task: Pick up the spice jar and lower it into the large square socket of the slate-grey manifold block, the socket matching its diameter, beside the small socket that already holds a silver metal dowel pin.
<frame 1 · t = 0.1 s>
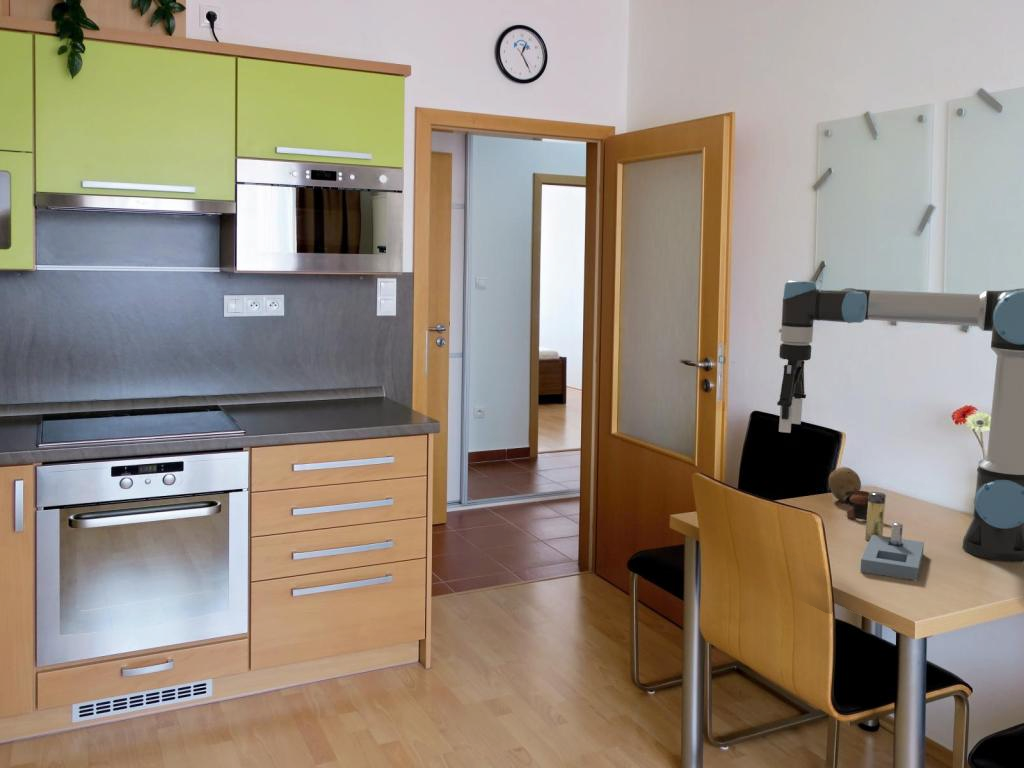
hand: (790, 427, 249), 28 cm above the table, tool pointing down, fingers open, 13 cm apart
manifold block: (892, 562, 234), on the table
spice jar: (873, 540, 251), on the table
silver metal dowel pin: (894, 556, 238), resting in manifold block
natural sponge: (843, 501, 289), on the table
pottery mug: (862, 517, 273), on the table
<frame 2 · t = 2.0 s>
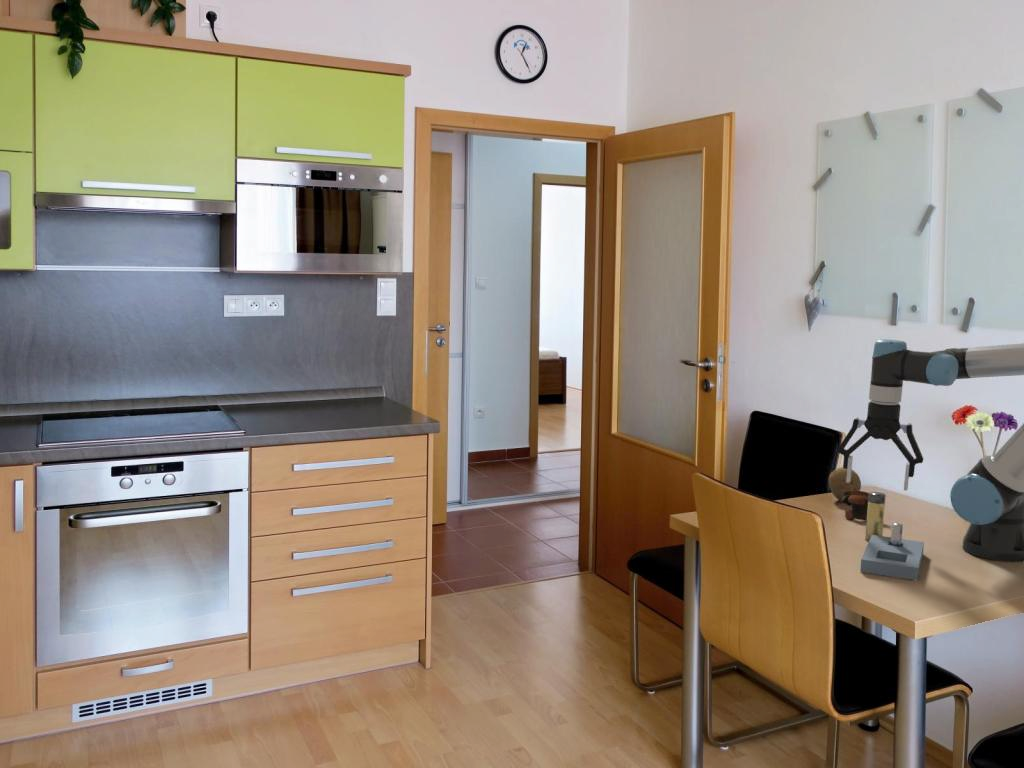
hand: (876, 485, 249), 14 cm above the table, tool pointing down, fingers open, 13 cm apart
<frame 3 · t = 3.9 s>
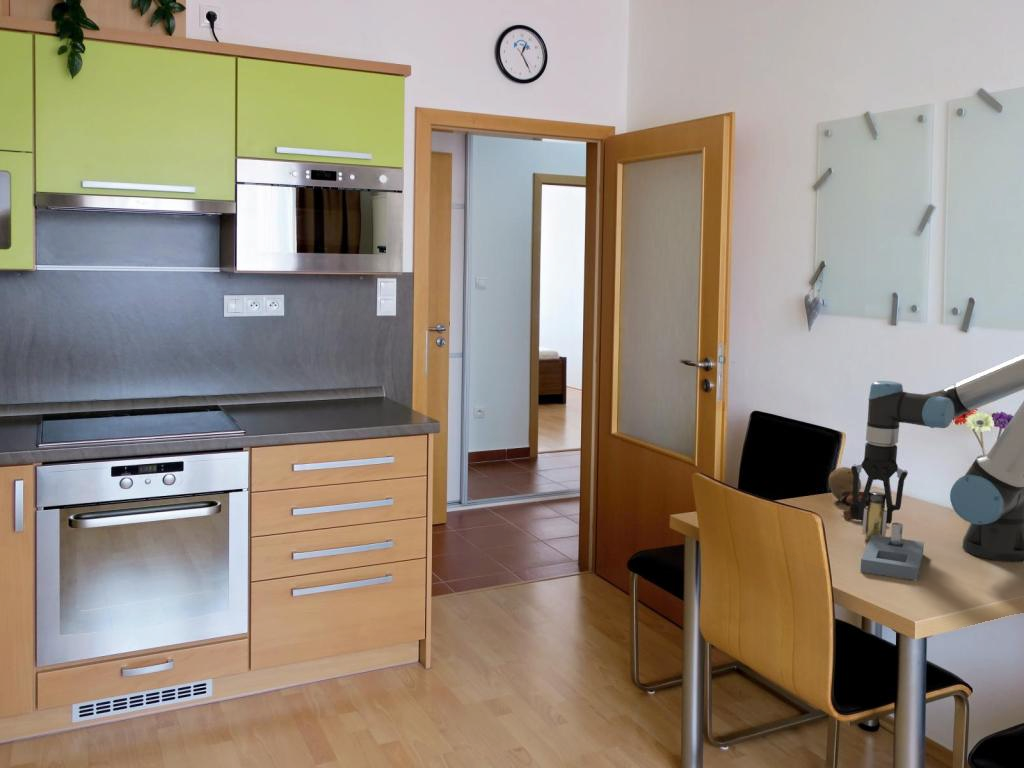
hand: (874, 533, 251), 2 cm above the table, tool pointing down, fingers closed on spice jar, 4 cm apart
spice jar: (873, 540, 251), on the table, touching gripper
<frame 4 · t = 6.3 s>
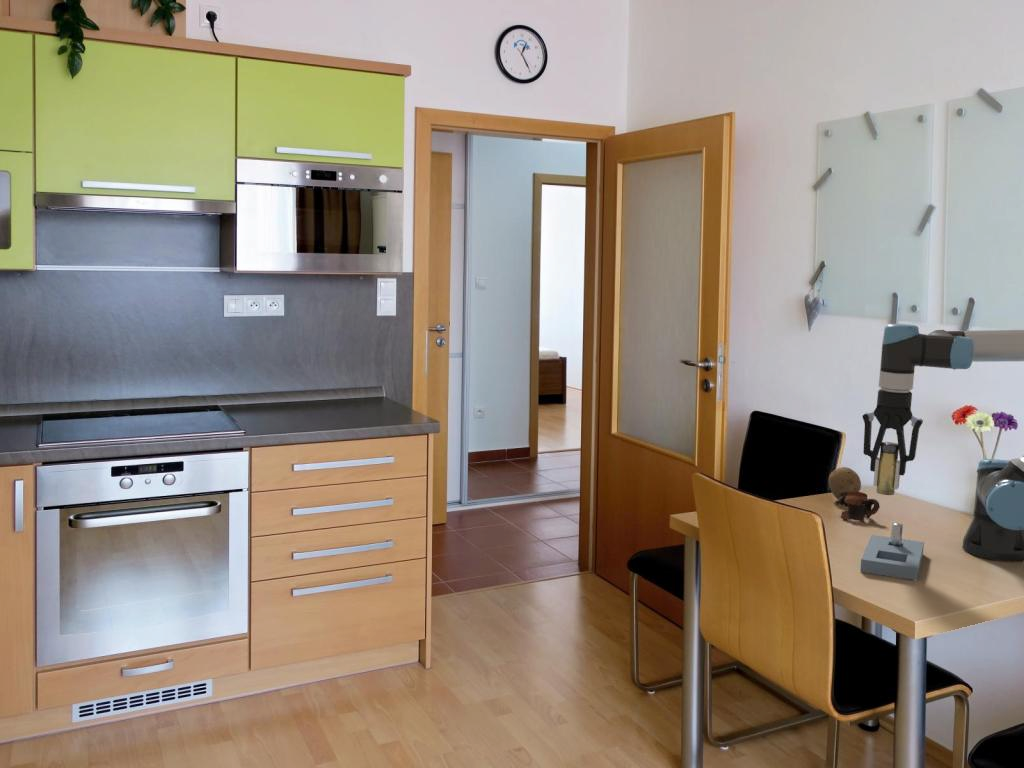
hand: (886, 486, 237), 17 cm above the table, tool pointing down, fingers closed on spice jar, 4 cm apart
spice jar: (885, 493, 237), point 15 cm above the table, touching gripper
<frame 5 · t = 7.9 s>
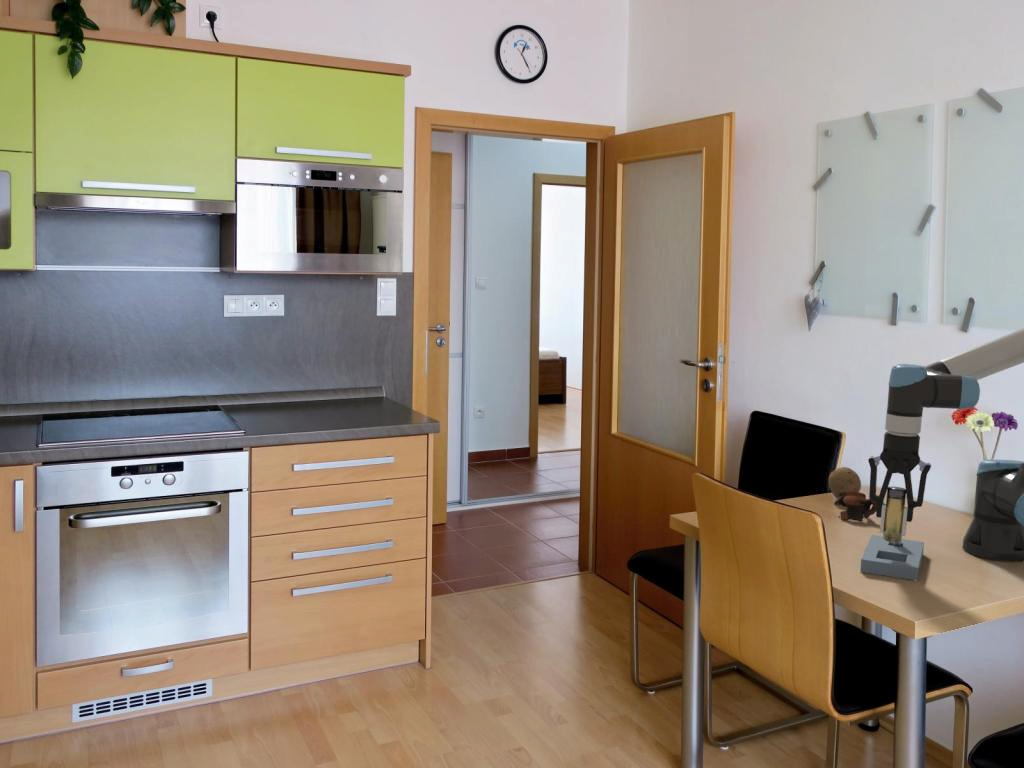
hand: (892, 532, 228), 9 cm above the table, tool pointing down, fingers closed on spice jar, 4 cm apart
spice jar: (892, 539, 228), point 7 cm above the table, touching gripper
when the fingers open (3 cm above the table, at t = 9.2 s): spice jar drops 2 cm, resting in manifold block.
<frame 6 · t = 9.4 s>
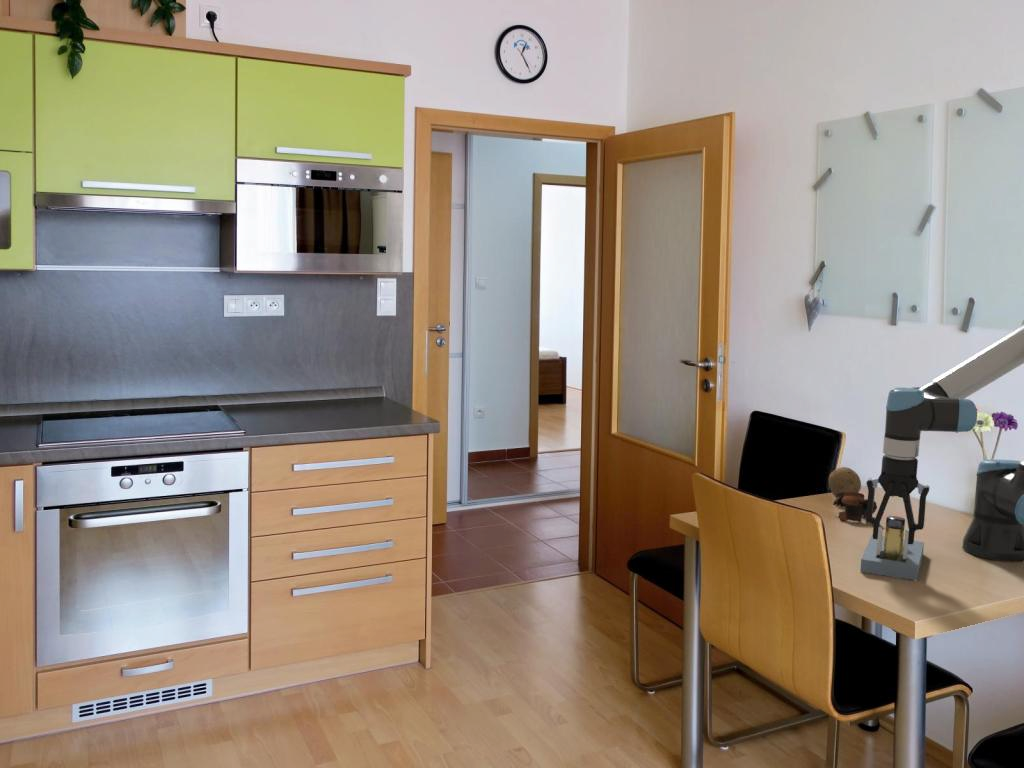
hand: (891, 554, 229), 3 cm above the table, tool pointing down, fingers open, 5 cm apart
spice jar: (891, 568, 229), resting in manifold block
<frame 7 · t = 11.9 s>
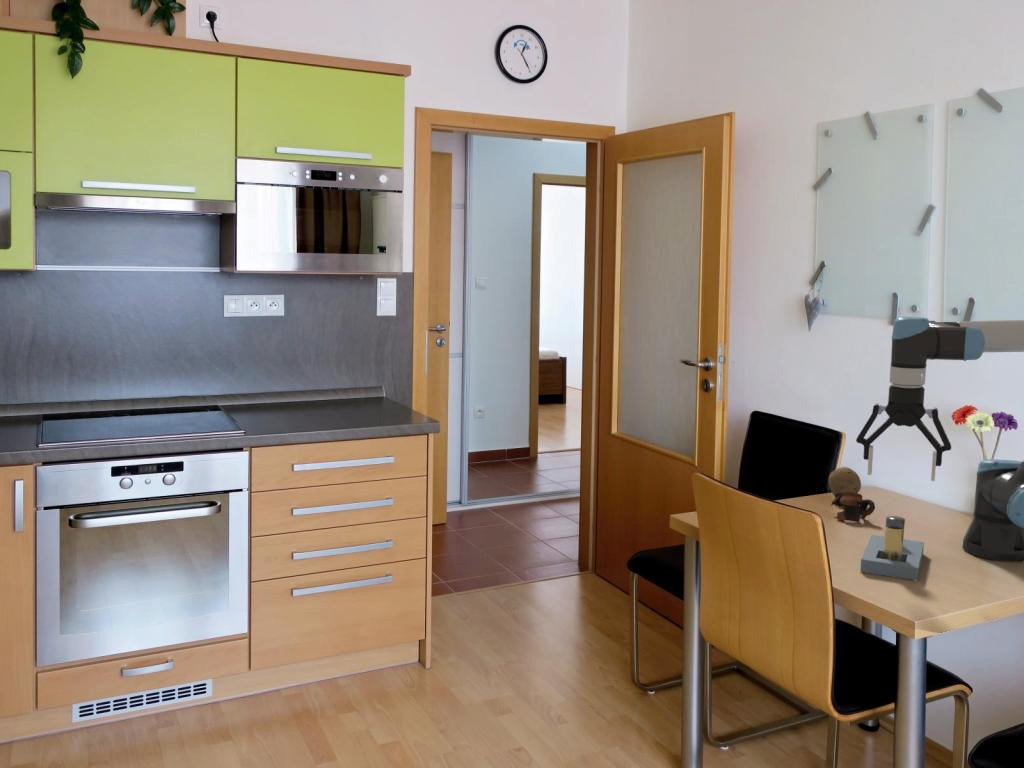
hand: (900, 476, 229), 21 cm above the table, tool pointing down, fingers open, 13 cm apart
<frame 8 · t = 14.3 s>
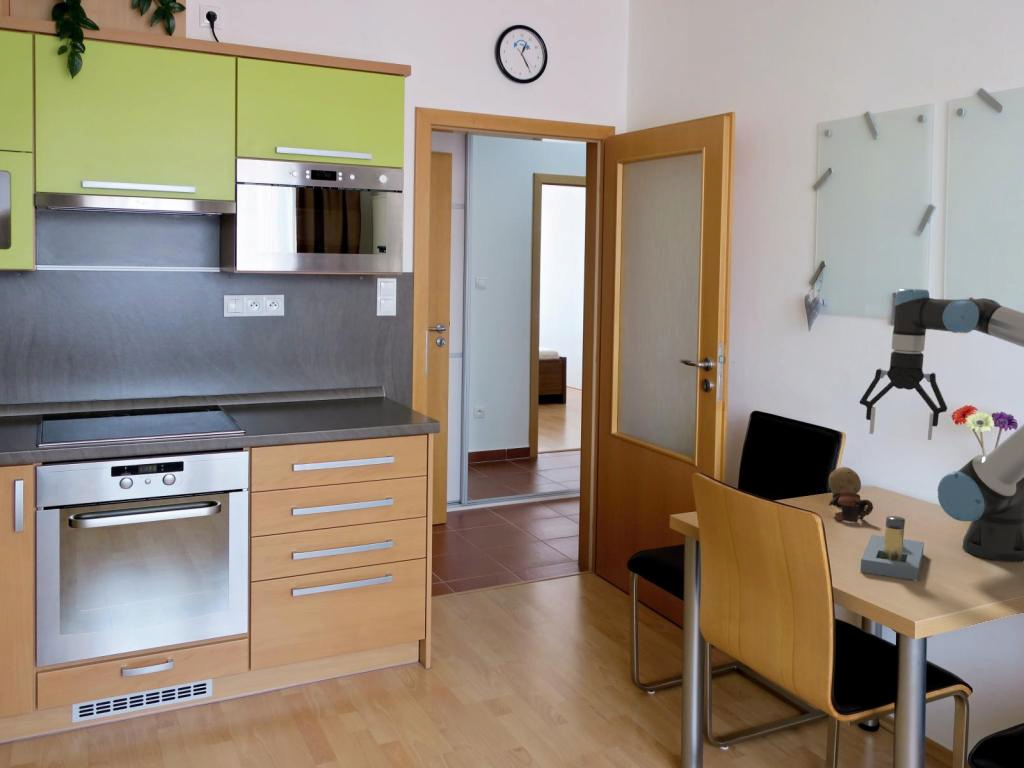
hand: (900, 436, 248), 27 cm above the table, tool pointing down, fingers open, 13 cm apart
at the end: spice jar 0.1 cm from the target spot on the manifold block, point 0.0 cm above the manifold block's base; spice jar tilted 0°; the gripper is holding nothing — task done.
